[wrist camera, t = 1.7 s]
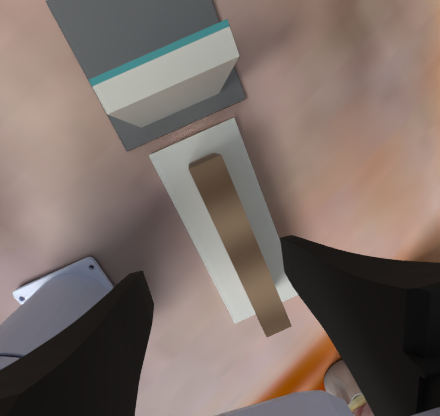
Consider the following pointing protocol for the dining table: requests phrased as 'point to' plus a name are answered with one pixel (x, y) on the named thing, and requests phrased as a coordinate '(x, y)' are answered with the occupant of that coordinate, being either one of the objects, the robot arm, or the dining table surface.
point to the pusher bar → (239, 240)
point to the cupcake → (346, 389)
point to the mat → (139, 49)
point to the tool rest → (200, 218)
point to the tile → (169, 77)
